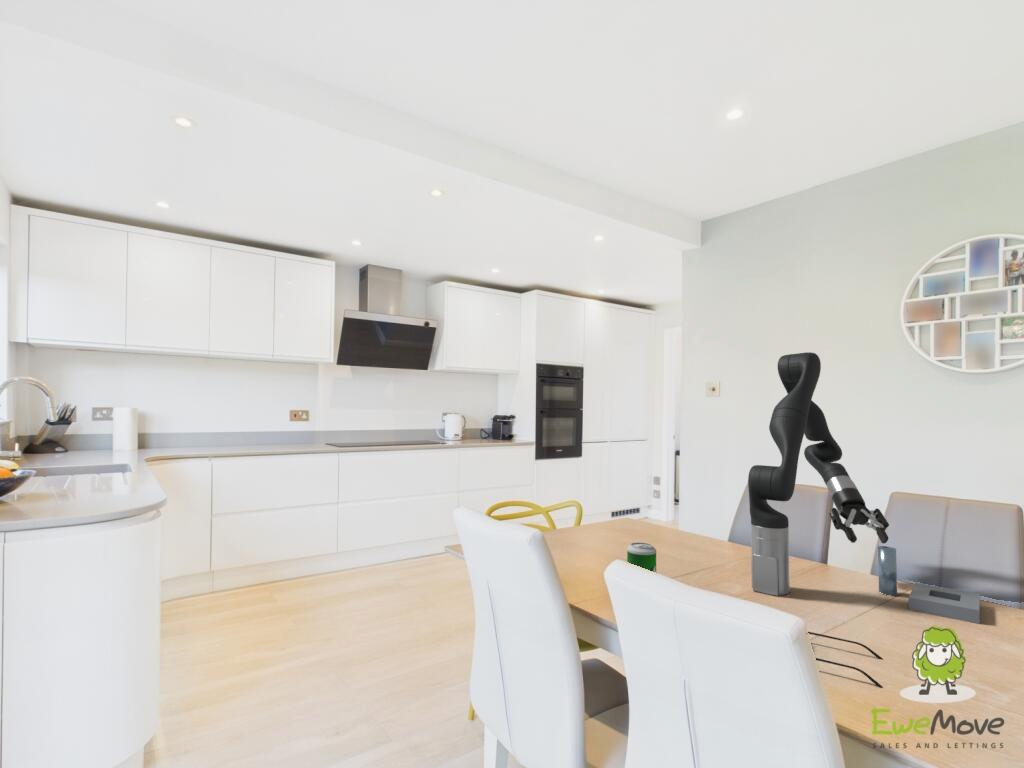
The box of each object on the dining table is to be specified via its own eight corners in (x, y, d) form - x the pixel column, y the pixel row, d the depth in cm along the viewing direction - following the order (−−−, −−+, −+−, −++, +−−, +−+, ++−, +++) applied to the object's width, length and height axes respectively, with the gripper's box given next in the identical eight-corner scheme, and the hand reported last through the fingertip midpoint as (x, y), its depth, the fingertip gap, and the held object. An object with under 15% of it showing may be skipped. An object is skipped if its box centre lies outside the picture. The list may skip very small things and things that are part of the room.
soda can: (651, 597, 138) (651, 549, 138) (623, 591, 142) (623, 545, 142) (659, 589, 144) (659, 544, 145) (632, 584, 148) (632, 540, 149)
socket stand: (979, 623, 123) (978, 610, 123) (909, 609, 131) (908, 597, 131) (980, 605, 135) (979, 593, 135) (915, 593, 143) (915, 582, 143)
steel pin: (896, 597, 140) (895, 550, 141) (877, 593, 143) (876, 547, 144) (898, 593, 143) (896, 547, 144) (880, 590, 146) (879, 545, 147)
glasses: (788, 639, 113) (787, 615, 114) (883, 661, 104) (882, 634, 104) (777, 664, 102) (777, 637, 102) (883, 690, 93) (882, 661, 93)
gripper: (825, 486, 161) (849, 533, 148) (874, 487, 160) (902, 534, 148) (816, 501, 166) (839, 548, 153) (863, 502, 165) (889, 549, 153)
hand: (870, 541), depth 151 cm, fingers open, 8 cm apart
